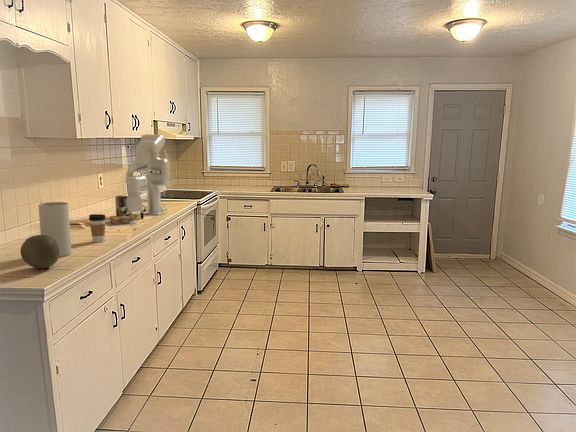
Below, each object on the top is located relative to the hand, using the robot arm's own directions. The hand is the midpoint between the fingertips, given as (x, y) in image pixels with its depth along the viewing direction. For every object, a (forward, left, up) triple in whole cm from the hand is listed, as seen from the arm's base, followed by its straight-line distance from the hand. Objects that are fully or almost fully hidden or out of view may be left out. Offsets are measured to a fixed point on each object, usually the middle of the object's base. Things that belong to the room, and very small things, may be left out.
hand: (134, 219), depth 289 cm
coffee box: (+3, -15, -2) cm, 15 cm away
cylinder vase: (+57, +65, -2) cm, 86 cm away
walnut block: (+12, +8, 0) cm, 14 cm away
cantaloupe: (+66, +87, -2) cm, 109 cm away
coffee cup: (+34, +47, -2) cm, 58 cm away
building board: (+12, +8, -2) cm, 15 cm away
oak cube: (0, 0, -2) cm, 2 cm away
